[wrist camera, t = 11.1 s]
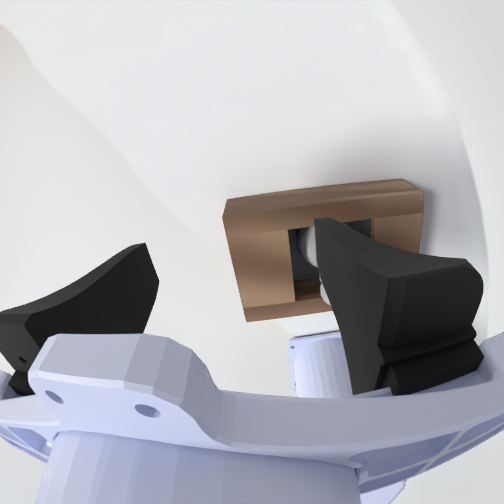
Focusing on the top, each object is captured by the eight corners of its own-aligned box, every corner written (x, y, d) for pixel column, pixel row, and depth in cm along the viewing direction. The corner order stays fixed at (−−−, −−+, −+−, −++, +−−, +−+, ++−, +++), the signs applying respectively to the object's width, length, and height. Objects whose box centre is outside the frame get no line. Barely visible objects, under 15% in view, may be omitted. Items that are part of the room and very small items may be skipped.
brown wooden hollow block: (396, 273, 25) (411, 295, 21) (247, 295, 26) (246, 322, 23) (402, 178, 20) (424, 192, 17) (227, 199, 21) (222, 217, 18)
